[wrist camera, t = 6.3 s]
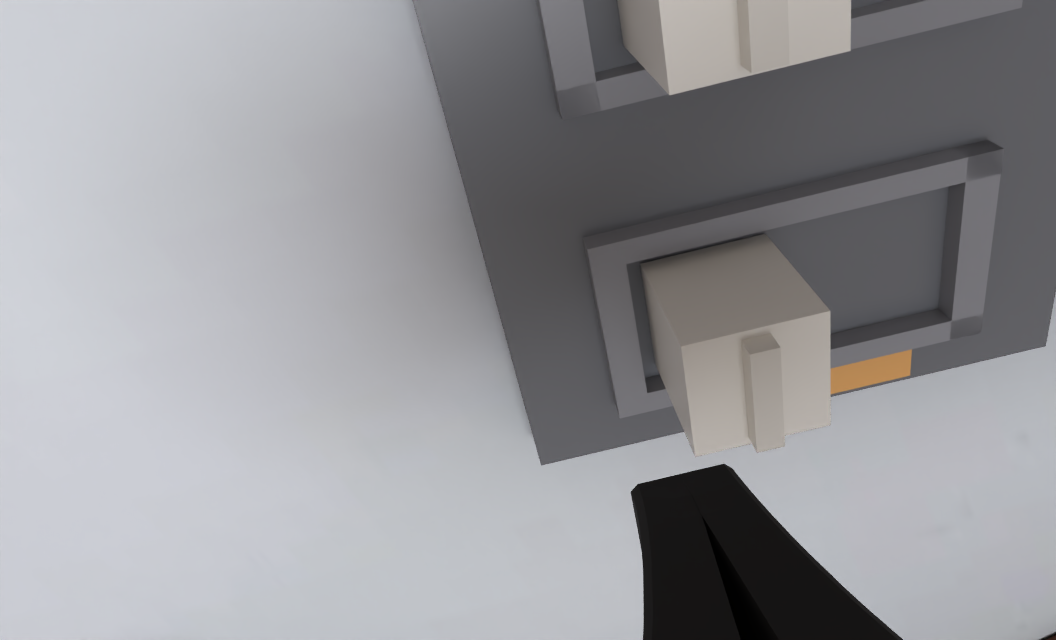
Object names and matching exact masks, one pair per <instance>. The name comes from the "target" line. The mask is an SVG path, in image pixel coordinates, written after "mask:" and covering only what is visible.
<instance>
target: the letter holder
mask: <svg viewBox="0 0 1056 640" xmlns="http://www.w3.org/2000/svg"><path fill="white" fill-rule="evenodd" d="M1044 640H1056V634H1055V635H1053V636H1050V637H1048V638H1046V639H1044Z"/></svg>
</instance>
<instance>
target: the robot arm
mask: <svg viewBox="0 0 1056 640" xmlns="http://www.w3.org/2000/svg"><path fill="white" fill-rule="evenodd" d="M631 496H632V501H633V507H634V512H635V517H636V523H637V528H638V533H639V539H640V544H641V549H642V559H643V584H644V631H643V640H903V639H902V638H901V637H899V636H898V635H897V634H896V633H895V632H894V631H892V630H891V629H890V628H889V627H888V626H887V625H886V624H884V623H883V622H882V621H881V620H880V619H879V618H878V617H876V616H875V615H874V614H873V613H872V612H871V611H869V610H868V609H867V608H866V607H865V606H864V605H863V604H862V603H861V602H859V601H858V600H857V599H856V598H855V597H854V596H853V595H852V594H851V593H850V592H849V591H847V590H846V589H845V588H844V587H843V586H842V585H841V584H840V583H839V582H838V581H837V580H836V579H835V578H834V577H833V576H832V575H831V574H830V573H829V572H828V571H827V570H826V569H824V568H823V567H822V566H821V565H820V564H819V563H818V562H817V561H816V560H815V559H814V558H813V557H812V556H811V555H810V554H809V553H808V552H807V551H806V550H805V549H804V548H803V547H802V546H801V545H800V544H799V543H798V542H797V541H796V540H795V539H794V538H793V537H792V536H791V535H790V534H789V533H788V532H787V531H786V529H785V528H784V527H783V526H782V525H781V524H780V523H779V522H778V521H777V520H776V519H775V518H774V517H773V516H772V515H771V513H770V512H769V511H768V510H767V509H766V508H765V507H764V506H763V505H762V504H761V502H760V501H759V500H758V499H757V498H756V497H755V496H754V494H753V493H752V492H751V491H750V490H749V488H748V487H747V486H746V485H745V484H744V483H743V481H742V480H741V479H740V478H739V476H738V475H737V474H736V473H735V471H734V470H733V469H732V468H731V467H729V466H727V465H725V464H721V465H717V466H713V467H709V468H704V469H700V470H696V471H692V472H687V473H683V474H679V475H675V476H670V477H666V478H662V479H658V480H653V481H649V482H645V483H641V484H638V485H637V486H636V487H635V488H634V489H633V490H632V491H631Z"/></svg>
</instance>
